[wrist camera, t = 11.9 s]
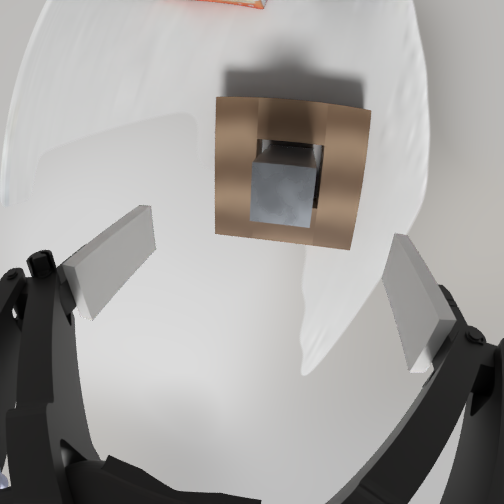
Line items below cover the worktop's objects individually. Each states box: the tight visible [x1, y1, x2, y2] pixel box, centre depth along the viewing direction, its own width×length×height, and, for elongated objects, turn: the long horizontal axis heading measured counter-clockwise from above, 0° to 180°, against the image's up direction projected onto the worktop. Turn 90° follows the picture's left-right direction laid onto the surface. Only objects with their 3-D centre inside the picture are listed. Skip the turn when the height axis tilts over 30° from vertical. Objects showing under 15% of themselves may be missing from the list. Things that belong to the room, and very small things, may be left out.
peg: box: [250, 145, 317, 228], centre depth 28 cm, size 5×5×12 cm
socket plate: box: [215, 97, 371, 250], centre depth 31 cm, size 16×16×4 cm
